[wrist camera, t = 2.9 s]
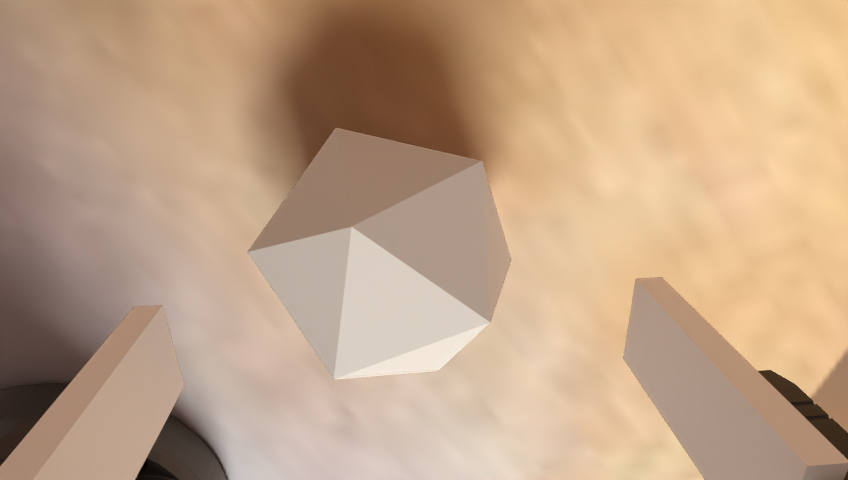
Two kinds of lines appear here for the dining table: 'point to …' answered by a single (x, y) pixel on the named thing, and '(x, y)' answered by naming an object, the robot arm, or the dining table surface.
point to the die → (386, 255)
